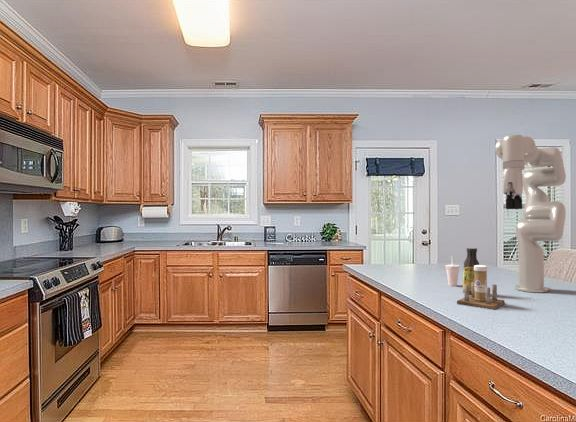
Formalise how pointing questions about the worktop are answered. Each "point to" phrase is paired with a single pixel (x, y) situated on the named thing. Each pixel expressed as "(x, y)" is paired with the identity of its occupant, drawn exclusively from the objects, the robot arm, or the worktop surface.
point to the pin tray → (489, 303)
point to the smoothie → (452, 273)
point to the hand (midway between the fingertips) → (514, 209)
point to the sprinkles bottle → (480, 282)
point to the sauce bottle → (469, 268)
